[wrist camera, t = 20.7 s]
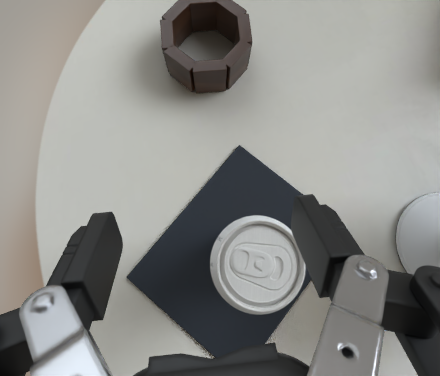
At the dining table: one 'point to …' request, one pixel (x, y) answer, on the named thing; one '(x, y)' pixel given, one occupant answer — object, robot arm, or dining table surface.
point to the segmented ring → (206, 21)
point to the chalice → (420, 233)
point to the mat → (201, 252)
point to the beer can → (257, 265)
